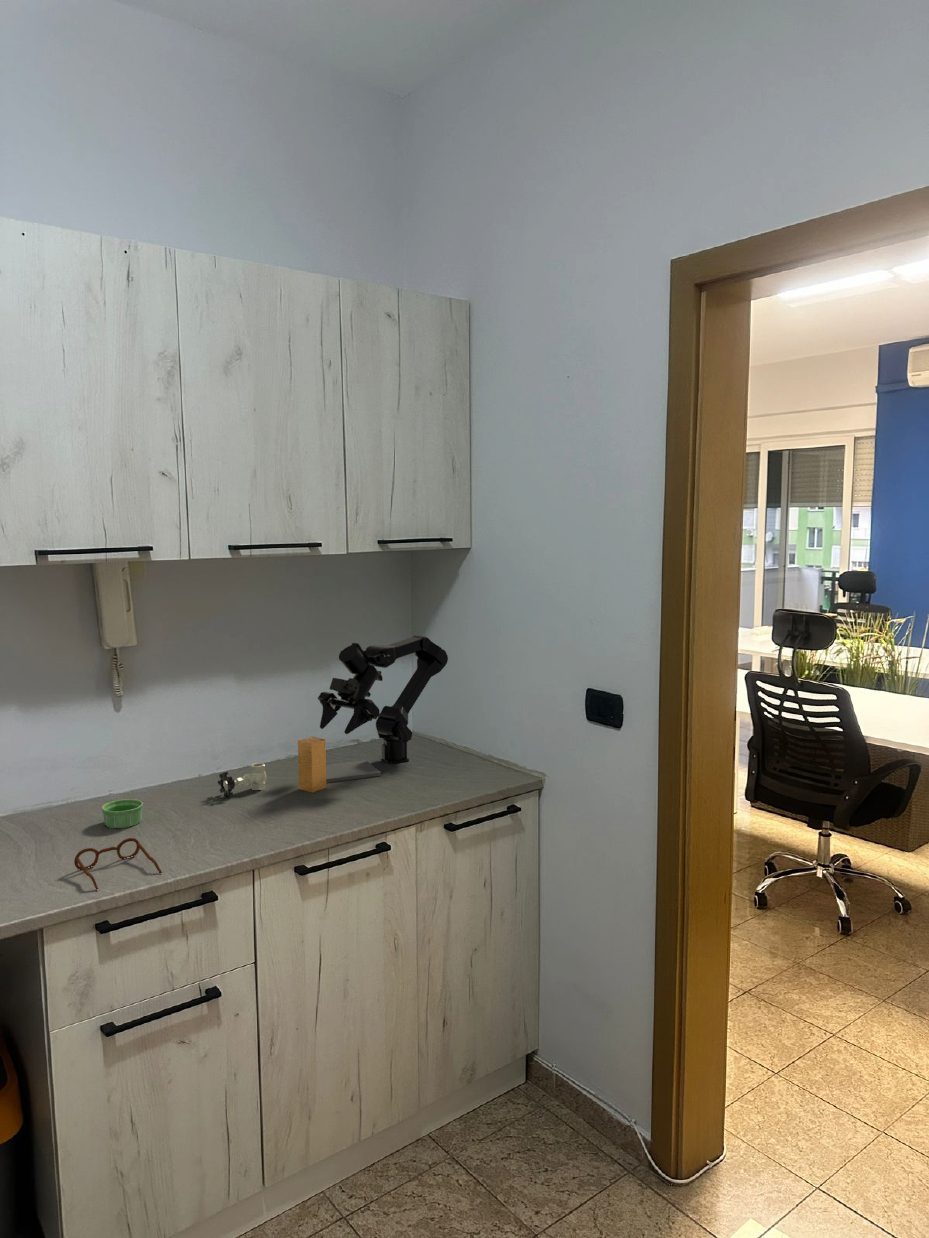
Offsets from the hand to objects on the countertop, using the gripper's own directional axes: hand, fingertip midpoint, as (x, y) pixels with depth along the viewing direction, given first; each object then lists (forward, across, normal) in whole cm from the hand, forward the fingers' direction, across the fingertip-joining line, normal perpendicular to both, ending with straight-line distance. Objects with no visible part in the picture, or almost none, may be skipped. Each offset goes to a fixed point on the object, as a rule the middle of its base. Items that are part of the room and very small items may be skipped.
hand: (333, 730), depth 238 cm
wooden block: (+15, 0, +4) cm, 16 cm away
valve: (+25, -11, -4) cm, 27 cm away
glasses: (+60, +9, -38) cm, 72 cm away
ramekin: (+48, -16, -27) cm, 57 cm away
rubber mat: (+5, -2, +15) cm, 16 cm away
